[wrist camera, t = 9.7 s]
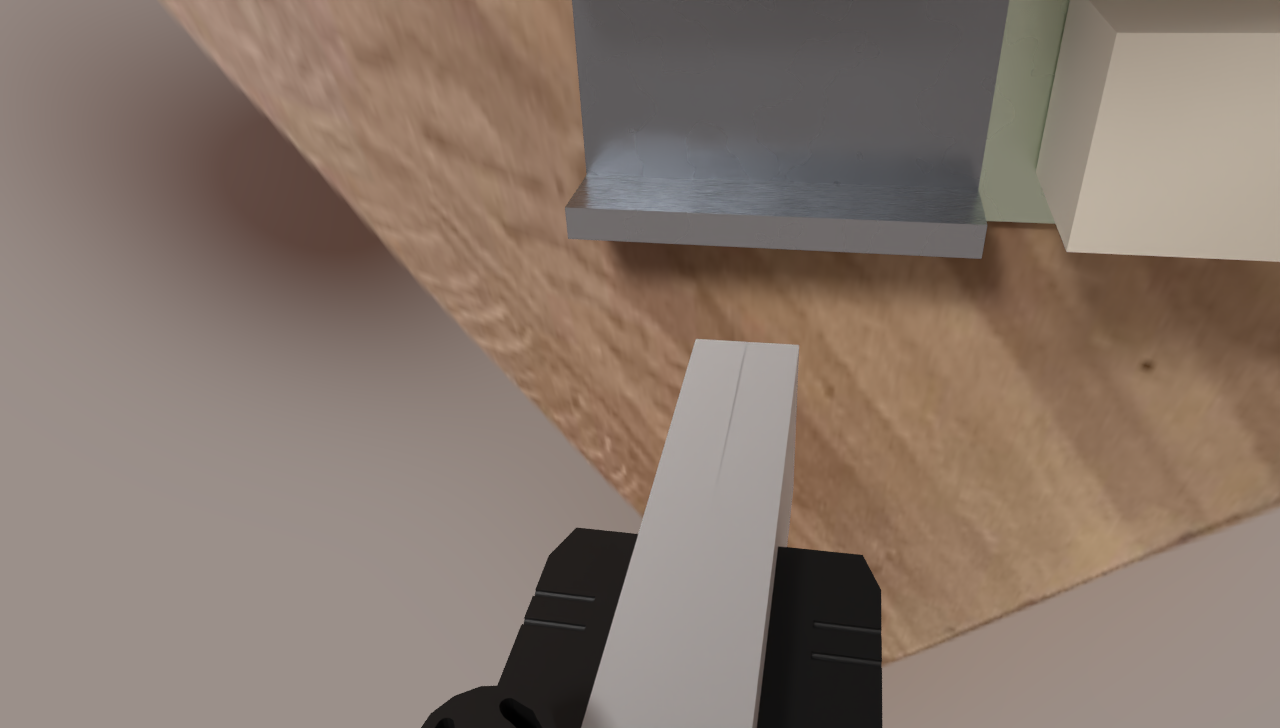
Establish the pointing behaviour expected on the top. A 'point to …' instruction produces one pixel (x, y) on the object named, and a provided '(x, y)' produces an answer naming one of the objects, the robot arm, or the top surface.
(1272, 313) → the top surface
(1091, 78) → the block
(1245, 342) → the top surface
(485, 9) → the top surface
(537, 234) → the top surface
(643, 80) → the chute
